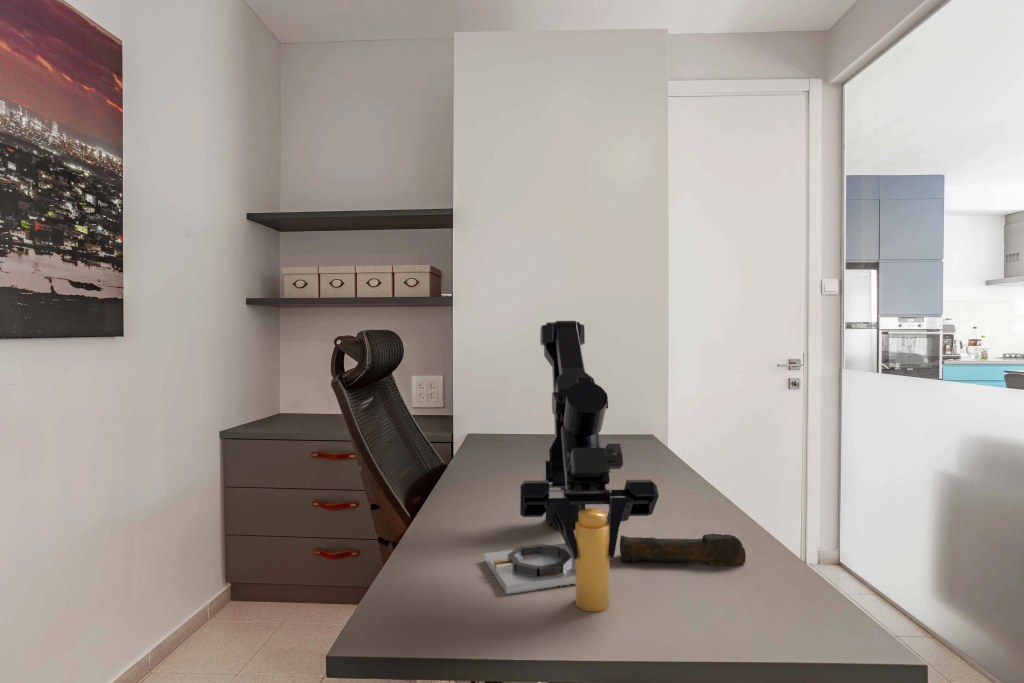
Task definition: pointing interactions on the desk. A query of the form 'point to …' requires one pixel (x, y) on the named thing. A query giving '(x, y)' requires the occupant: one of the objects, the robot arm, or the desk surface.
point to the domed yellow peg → (592, 560)
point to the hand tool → (685, 549)
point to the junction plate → (533, 567)
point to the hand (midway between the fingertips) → (593, 558)
